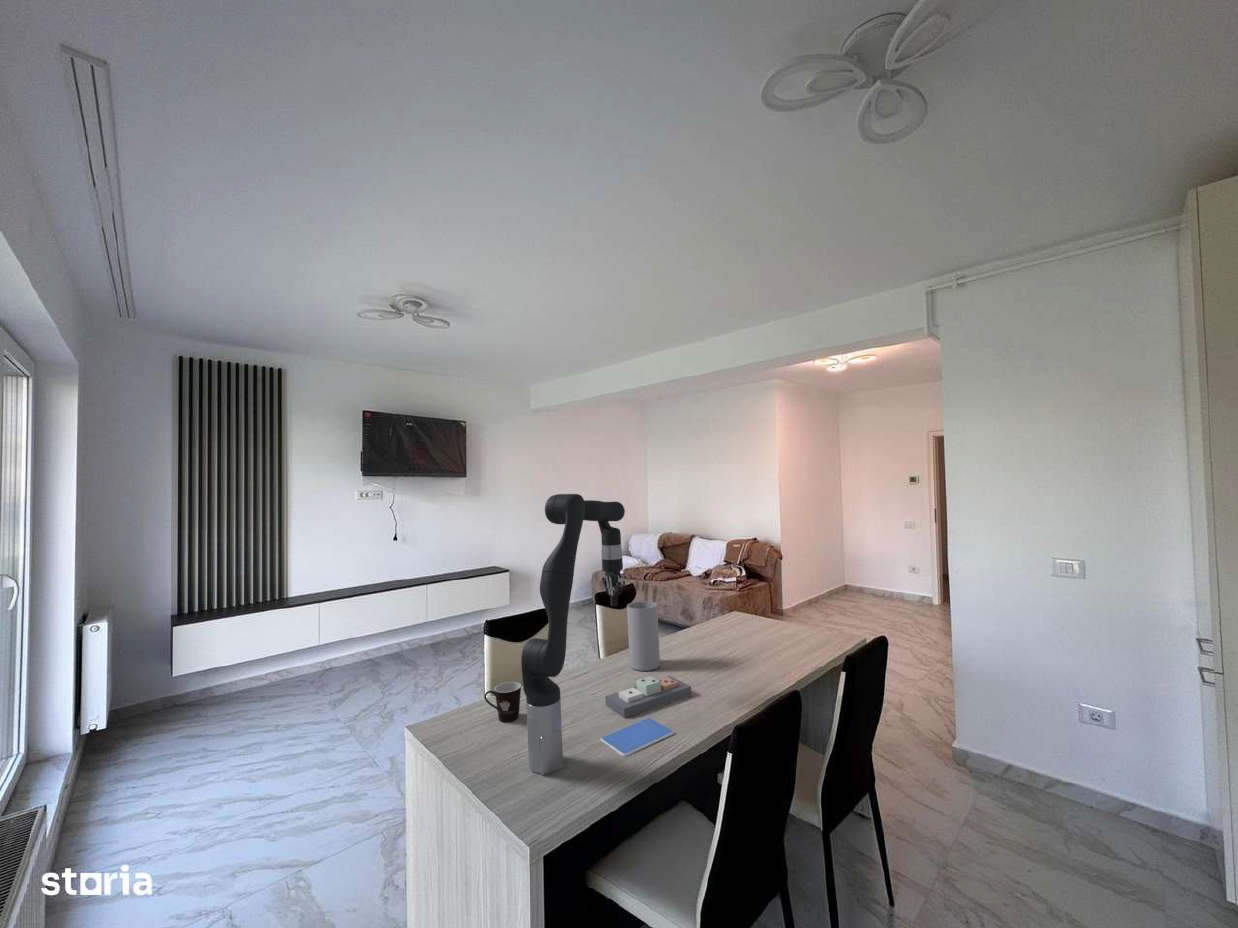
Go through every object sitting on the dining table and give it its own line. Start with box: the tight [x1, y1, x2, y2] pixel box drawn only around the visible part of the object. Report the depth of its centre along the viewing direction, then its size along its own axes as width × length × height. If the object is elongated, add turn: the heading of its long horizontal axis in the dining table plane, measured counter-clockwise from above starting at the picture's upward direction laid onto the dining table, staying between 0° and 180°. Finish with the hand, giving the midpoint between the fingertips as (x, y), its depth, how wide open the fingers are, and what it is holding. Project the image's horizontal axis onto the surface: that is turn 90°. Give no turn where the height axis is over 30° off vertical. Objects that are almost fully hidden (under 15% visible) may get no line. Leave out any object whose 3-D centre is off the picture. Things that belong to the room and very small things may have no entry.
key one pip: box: [618, 687, 643, 703], centre depth 164 cm, size 6×6×4 cm
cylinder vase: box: [626, 601, 661, 672], centre depth 200 cm, size 12×12×25 cm
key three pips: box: [657, 676, 678, 691], centre depth 172 cm, size 6×6×4 cm
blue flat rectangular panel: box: [599, 717, 675, 758], centre depth 144 cm, size 19×13×1 cm, turn 126°
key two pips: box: [635, 675, 661, 696], centre depth 168 cm, size 6×6×4 cm
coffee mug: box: [484, 681, 522, 724], centre depth 160 cm, size 12×9×10 cm
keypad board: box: [604, 675, 692, 719], centre depth 168 cm, size 12×28×3 cm, turn 122°
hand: (614, 605), depth 173 cm, fingers closed
